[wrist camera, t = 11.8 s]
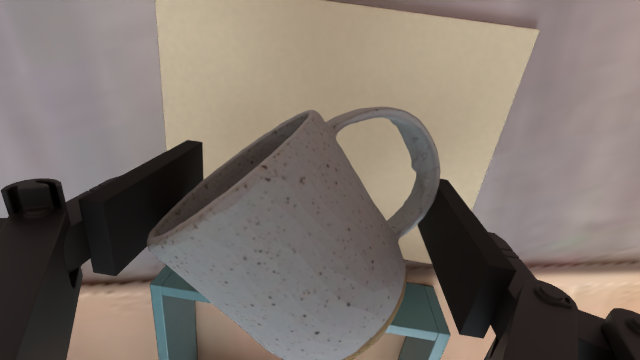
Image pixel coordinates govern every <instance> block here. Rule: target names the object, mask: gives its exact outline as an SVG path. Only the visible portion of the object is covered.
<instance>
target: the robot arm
mask: <svg viewBox="0 0 640 360" xmlns="http://www.w3.org/2000/svg"><path fill="white" fill-rule="evenodd" d="M203 180H204V178H203V142H198V141H192V140H186V141H184V142H183V143H181V144H179V145H177V146H175V147H173V148H172V149H170V150H168V151H166V152H164V153H162V154H161V155H159V156H157V157H155V158H153V159H151V160H150V161H148V162H146V163H144V164H142V165H140V166H139V167H137V168H135V169H133V170H131V171H129V172H128V173H126V174H124V175H122V176H119V177H115V178H112V179H109V180H107V181H105V182H103V183H101V184H99V185H98V186H95V187H94V188H92V189H90V190H89V191H86V192H84V193H82V194H80V195H79V196H77V197H75V198H73V199H71V200H69V201H67V202H65V198H64V194H63V189H62V185H61V182H59V181H57V180H54V179H31V180H24V181H20V182H16V183H13V184H11V185H8V186H6V187H4V188H3V189H2V190H1V193H2V196H3V199H4V202H5V205H6V208H7V211H8V214H9V216H8V218H0V360H66V358H67V353H68V348H69V343H70V338H71V333H72V328H73V323H74V317H75V312H76V307H77V302H78V297H79V292H80V287H81V282H82V277H83V275H82V270H81V265H82V264H84V263H85V262H86V261H87V260H89V259H90V258H91V263H92V267H93V272H94V273H100V274H106V275H112V276H117V275H118V274H119V273H120V272H121V271H122V270H123V269H124V268H125V267H126V266H127V265H128V264H129V263H130V262H131V261H132V260H133V259H134V258H135V257H136V256H137V255H138V254H139V253H140V252H141V251H143V250H144V249H145V248H146V247H147V239H148V236H149V233H150V232H151V230H152V229H153V228H154V227H155V226H156V225H157V224H158V222H159V221H160V220H161V219H162V218H163V217H164V216H165V215H167V213H168V212H169V211H170V210H171V209H172V208H173V207H174V206H175V205H176V204H177V203H178V202H179V201H181V200H182V199H183V198H184V197H185V196H186V195H187V194H188V193H189V192H190V191H192V190H193V189H194V188H195V187H196V186H197V185H198V184H199V183H200V182H201V181H203ZM417 226H418V228H419V231H420V234H421V236H422V239H423V241H424V244H425V247H426V249H427V252H428V254H429V257H430V259H431V262H432V265H433V267H434V270H435V272H436V275H437V278H438V280H439V283H440V285H441V288H442V290H443V293H444V296H445V298H446V301H447V303H448V306H449V309H450V311H451V314H452V316H453V319H454V321H455V324H456V327H457V329H458V332H459V334H460V335H466V336H472V337H478V338H484V336H485V334H486V332H487V330H488V328H489V326H490V325H491V326H492V328H493V330H494V332H495V334H496V337H495V339H494V341H493V343H492V345H491V347H490V349H489V351H488V353H487V355H486V357H485V359H484V360H640V314H638V313H635V312H633V311H630V310H626V309H622V308H614V309H613V310H612V311H611V312H610V313H609V314H608V316H607V317H606V319H603V318H600V317H597V316H594V315H592V314H589V313H586V312H583V311H580V310H578V308H577V305H576V303H575V302H574V301H573V300H572V298H571V297H570V296H569V295H567V294H566V293H565V292H563V291H562V290H560V289H559V288H557V287H555V286H553V285H551V284H549V283H546V282H543V281H540V280H537V279H536V278H535V277H534V275H533V274H532V273H531V272H530V271H529V269H528V268H527V267H526V266H525V264H524V263H523V262H522V261H521V260H520V259H519V257H518V256H517V255H516V253H515V252H513V250H512V249H511V247H510V246H509V245H508V244H507V242H506V241H504V240H503V239H502V238H500V237H499V236H497V235H496V234H495V233H490V232H487V231H486V229H485V228H484V227H483V225H482V224H481V223H480V221H479V220H478V219H477V218H476V216H475V215H474V214H473V212H472V211H471V210H470V208H469V207H468V206H467V204H466V203H465V202H464V201H463V199H462V198H461V197H460V195H459V194H458V193H457V191H456V190H455V189H454V187H453V186H452V185H451V183H450V182H449V181H448V180H446V179H440V181H439V187H438V190H437V194H436V198H435V200H434V202H433V204H432V206H431V207H430V209H429V210H428V212H427V213H426V215H425V216H424V218H423V219H422V220H421V221H420V222H419V223H418V225H417Z"/></svg>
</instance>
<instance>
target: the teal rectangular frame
mask: <svg viewBox="0 0 640 360" xmlns="http://www.w3.org/2000/svg"><path fill="white" fill-rule="evenodd" d="M150 290H151V298H152V306H153V314H154V322H155V330H156V339H157V347H158V355H159V360H197V342H196V321H195V301H201V302H207V303H211V302H210V301H209V300H208V299H206V298H205V297H204V296H203V295H202V294H201V293H200V292H198V291H197V290H196V289H195V288H194V287H192V286H191V285H190V284H189V283H188V282H187V281H185V280H184V279H183V278H182V277H181V276H179V275H178V274H177V273H176V272H174V271H173V270H172V269H171V268H170V267H168V266H167V265H166V266H165V267H164V268H163V270H162V271H161V272H160V273H159V274H158V275H157V277H156V278H155V279H154V280H153V281H152V282H151V284H150ZM385 333H391V334H397V335H403V336H406V338H405V341H404V344H403V347H402V350H401V353H400V356H399V359H398V360H440V359H441V356H442V354H443V352H444V349H445V347H446V345H447V342H448V340H449V337H450V332H449V329H448V326H447V324H446V321H445V318H444V315H443V312H442V310H441V307H440V304H439V301H438V298H437V296H436V293H435V290H434V287H431V286H425V285H424V286H423V285H419V284H413V283H407V282H406V286H405V292H404V297H403V300H402V302H401V305H400V307H399V309H398V311H397V313H396V315H395V317H394V319H393V321H392V322H391V324H390V325H389V327H388V328H387V330H386V331H385Z"/></svg>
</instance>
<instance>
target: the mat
mask: <svg viewBox="0 0 640 360" xmlns="http://www.w3.org/2000/svg"><path fill="white" fill-rule="evenodd" d="M155 4H156V17H157V30H158V43H159V56H160V69H161V82H162V95H163V108H164V121H165V134H166V147H167V151H168V150H170V149H172V148H173V147H175V146H177V145H179V144H181V143H183V142H184V141H186V140H192V141H198V142H203V178H204V179H205V178H207V177H208V176H209V175H210V174H212V173H213V172H214V171H215V170H216V169H218V168H219V167H220V166H222V165H223V164H224V163H226V162H227V161H228V160H229V159H231V158H232V157H233V156H234V155H236V154H238V153H239V152H240V151H241V150H242V149H244V148H246V147H247V146H248V145H250V144H251V143H253V142H254V141H255V140H257V139H258V138H260V137H261V136H262V135H264V134H266V133H268V132H269V131H271V130H272V129H274V128H276V127H277V126H278V125H279V124H281V123H283V122H284V121H286V120H288V119H290V118H292V117H294V116H295V115H297V114H300V113H302V112H304V111H307V110H315V111H317V112H318V113H319V114H320V115H321V117H322V118H323V119H324V121H325V122H327V121H328V120H330V119H332V118H334V117H336V116H339V115H341V114H344V113H347V112H350V111H353V110H356V109H360V108H370V107H382V106H383V107H392V108H397V109H401V110H405V111H407V112H409V113H410V114H412V115H414V116H415V117H417V118H418V119H419V120H420V121H421V122H422V123H423V124H424V126H425V127H426V128H427V130H428V131H429V133H430V135H431V137H432V139H433V141H434V143H435V146H436V148H437V151H438V157H439V161H440V170H441V172H440V179H446V180H448V181H449V182H450V183H451V185H452V186H453V187H454V189H455V190H456V191H457V193H458V194H459V195H460V197H461V198H462V199H463V201H464V202H465V203H466V204H467V206H468V207H469V208H470V210H471V211H472V208H473V206H474V203H475V200H476V198H477V195H478V192H479V190H480V187H481V184H482V182H483V179H484V176H485V174H486V171H487V169H488V166H489V163H490V161H491V158H492V155H493V153H494V150H495V147H496V145H497V142H498V139H499V137H500V134H501V131H502V129H503V126H504V123H505V121H506V118H507V115H508V113H509V110H510V108H511V105H512V102H513V100H514V97H515V94H516V92H517V89H518V86H519V84H520V81H521V78H522V76H523V73H524V70H525V68H526V65H527V62H528V60H529V57H530V54H531V52H532V49H533V47H534V44H535V41H536V39H537V36H538V33H539V31H540V30H538V29H531V28H523V27H516V26H509V25H501V24H494V23H487V22H479V21H472V20H465V19H457V18H450V17H443V16H435V15H428V14H421V13H413V12H406V11H399V10H391V9H384V8H377V7H369V6H362V5H355V4H347V3H340V2H333V1H325V0H155ZM336 140H337V143H338V144H339V145H340V147H341V148H342V149H343V151H344V153H345V155H346V157H347V158H348V160H349V161H350V163H351V165H352V167H353V168H354V170H355V172H356V173H357V175H358V176H359V178H360V180H361V182H362V183H363V185H364V187H365V189H366V190H367V192H368V194H369V196H370V197H371V199H372V200H373V202H374V204H375V205H376V206H377V208H378V209H379V210H380V212H381V213H382V215H383V216H384V218H385V219H386V221H387V220H388V219H389V218H390V217H392V216H393V215H394V214H395V213H396V212H397V211H398V210H399V209H400V208H401V207H402V206H403V204H404V202H405V201H406V200H407V199H408V197H409V195H410V194H411V191H412V189H413V186H414V183H415V180H416V172H415V171H414V170H413V168H412V167H411V161H412V160H411V157H410V154H409V151H408V149H407V147H406V145H405V142H404V140H403V138H402V136H401V134H400V132H399V130H398V128H397V126H395V125H394V124H392V122H391V121H390V120H389V119H386V118H372V119H368V120H364V121H360V122H357V123H354V124H350V125H348V126H346V127H344V128H343V129H341V130H340V131H339V132H338V134H337V136H336ZM417 225H418V224H417ZM417 225H416V226H415V227H414V228H413V229H412V230H410V231H409V232H408V233H407V234H406V235H404V236H402V237H401V238H400V239H399V242H398V244H399V247H400V250H401V253H402V256H403V259H404V260H411V261H417V262H423V263H429V264H432V262H431V259H430V257H429V254H428V252H427V249H426V247H425V244H424V241H423V239H422V236H421V234H420V231H419V228H418V226H417Z"/></svg>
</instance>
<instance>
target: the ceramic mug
mask: <svg viewBox="0 0 640 360" xmlns="http://www.w3.org/2000/svg"><path fill="white" fill-rule="evenodd" d="M372 118H386V119H389V120H390V121H391V122H392V124H394V125H395V126H397V128H398V130H399V132H400V134H401V136H402V138H403V140H404V142H405V145H406V147H407V149H408V151H409V154H410V157H411V160H412V161H411V167H412V168H413V170H414V171H415V172H416V180H415V183H414V186H413V189H412V191H411V194H410V195H409V197H408V199H407V200H406V201H405V202H404V204H403V206H402V207H401V208H400V209H399V210H398V211H397V212H396V213H395V214H394V215H393V216H392V217H390V218H389V219H388V220H387V221H386V219H385V218H384V216H383V215H382V213H381V212H380V210H379V209H378V208H377V206H376V205H375V204H374V202H373V200H372V199H371V197H370V196H369V194H368V192H367V190H366V189H365V187H364V185H363V183H362V182H361V180H360V178H359V176H358V175H357V173H356V172H355V170H354V168H353V167H352V165H351V163H350V161H349V160H348V158H347V157H346V155H345V153H344V151H343V149H342V148H341V147H340V145H339V144H338V143H337V140H336V136H337V134H338V132H339V131H340V130H341V129H343V128H344V127H346V126H348V125H350V124H354V123H357V122H360V121H364V120H368V119H372ZM440 172H441V170H440V161H439V157H438V151H437V148H436V146H435V143H434V141H433V139H432V137H431V135H430V133H429V131H428V130H427V128H426V127H425V126H424V124H423V123H422V122H421V121H420V120H419V119H418V118H417V117H415V116H414V115H412V114H410V113H409V112H407V111H405V110H401V109H397V108H392V107H383V106H382V107H370V108H360V109H356V110H353V111H350V112H347V113H344V114H341V115H339V116H336V117H334V118H332V119H330V120H328V121H327V122H325V121H324V119H323V118H322V117H321V115H320V114H319V113H318V112H317V111H315V110H307V111H304V112H302V113H300V114H297V115H295V116H294V117H292V118H290V119H288V120H286V121H284V122H283V123H281V124H279V125H278V126H277V127H276V128H274V129H272V130H271V131H269V132H268V133H266V134H264V135H262V136H261V137H260V138H258V139H257V140H255V141H254V142H253V143H251V144H250V145H248V146H247V147H246V148H244V149H242V150H241V151H240V152H239V153H238V154H236V155H234V156H233V157H232V158H231V159H229V160H228V161H227V162H226V163H224V164H223V165H222V166H220V167H219V168H218V169H216V170H215V171H214V172H213V173H212V174H210V175H209V176H208V177H207V178H205V179H204V180H203V181H201V182H200V183H199V184H198V185H197V186H196V187H195V188H194V189H193V190H192V191H190V192H189V193H188V194H187V195H186V196H185V197H184V198H183V199H182V200H181V201H179V202H178V203H177V204H176V205H175V206H174V207H173V208H172V209H171V210H170V211H169V212H168V213H167V215H165V216H164V217H163V218H162V219H161V220H160V221H159V222H158V224H157V225H156V226H155V227H154V228H153V229H152V230H151V232H150V233H149V236H148V239H147V246H148V249H149V251H150V252H152V253H153V254H154V255H155V256H156V257H158V258H159V259H160V260H161V261H162V262H164V263H165V264H166V265H167V266H168V267H170V268H171V269H172V270H173V271H174V272H176V273H177V274H178V275H179V276H181V277H182V278H183V279H184V280H185V281H187V282H188V283H189V284H190V285H191V286H192V287H194V288H195V289H196V290H197V291H198V292H200V293H201V294H202V295H203V296H204V297H205V298H206V299H208V300H209V301H210V302H211V303H212V304H213V305H215V306H216V307H217V308H218V309H219V310H221V311H222V312H223V313H224V314H226V315H227V316H228V317H229V318H231V319H232V320H233V321H234V322H236V323H237V324H238V325H239V326H240V327H241V328H242V329H244V330H245V331H246V332H247V333H248V334H249V335H250V336H251V337H252V338H253V339H255V340H256V341H257V342H258V343H259V344H260V345H262V346H263V347H264V348H265V349H266V350H268V351H269V352H271V353H272V354H274V355H276V356H278V357H280V358H281V359H283V360H352V359H354V358H355V357H357V356H358V355H359V354H361V353H362V352H364V351H365V350H367V349H368V348H369V347H370V346H372V345H373V344H374V343H375V342H376V341H377V340H378V339H379V338H380V337H381V336H382V335H383V333H384V332H385V331H386V330H387V328H388V327H389V325H390V324H391V322H392V321H393V319H394V317H395V315H396V313H397V311H398V309H399V307H400V305H401V302H402V300H403V297H404V292H405V286H406V280H407V273H406V266H405V262H404V259H403V256H402V253H401V250H400V247H399V244H398V242H399V239H400V238H401V237H402V236H404V235H406V234H407V233H408V232H409V231H410V230H412V229H413V228H414V227H415V226H416V225H417V224H418V223H419V222H420V221H421V220H422V219H423V218H424V216H425V215H426V213H427V212H428V210H429V209H430V207H431V206H432V204H433V202H434V200H435V198H436V194H437V190H438V187H439V181H440Z"/></svg>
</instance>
